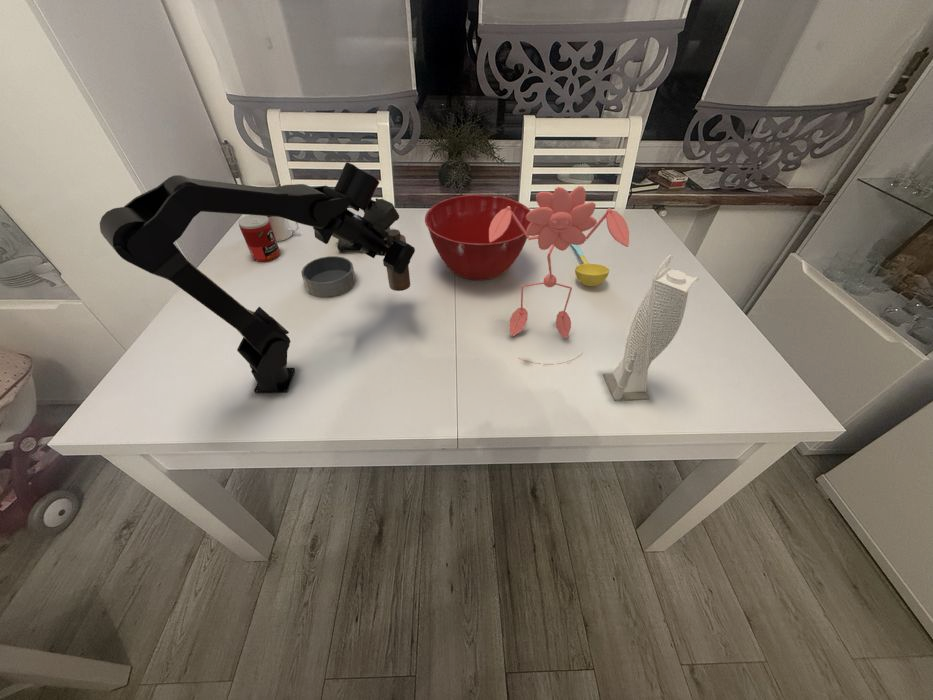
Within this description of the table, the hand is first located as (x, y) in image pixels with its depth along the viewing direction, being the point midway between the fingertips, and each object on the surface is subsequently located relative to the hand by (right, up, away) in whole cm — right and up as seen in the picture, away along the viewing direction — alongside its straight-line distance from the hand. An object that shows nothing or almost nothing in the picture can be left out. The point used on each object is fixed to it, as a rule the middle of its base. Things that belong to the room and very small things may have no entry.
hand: (401, 258), depth 89 cm
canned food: (-44, +7, +26) cm, 52 cm away
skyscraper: (+48, -28, -9) cm, 56 cm away
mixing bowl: (+18, +3, +22) cm, 29 cm away
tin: (-22, -3, +16) cm, 27 cm away
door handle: (-18, +15, +34) cm, 41 cm away
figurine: (+31, -19, 0) cm, 37 cm away
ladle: (+48, +3, +23) cm, 54 cm away
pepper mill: (-1, -5, +4) cm, 7 cm away
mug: (-44, +15, +35) cm, 58 cm away
